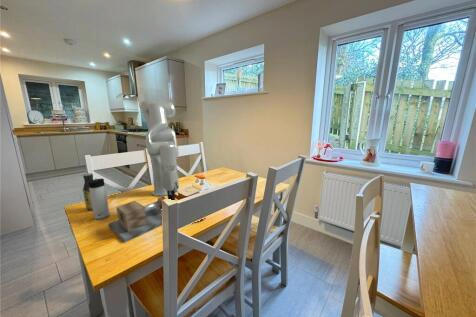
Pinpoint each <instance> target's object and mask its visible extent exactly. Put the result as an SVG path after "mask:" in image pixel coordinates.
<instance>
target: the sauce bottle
mask: <svg viewBox="0 0 476 317" xmlns="http://www.w3.org/2000/svg"><path fill="white" fill-rule="evenodd" d="M82 176H83V179H84V184H83V188H82V192H83V200H84V204H85V209H86V210H87V211H89V212H91V211H92V212H93V208H92V202H91V197H90V191H89V184H88V182H89V181H93V180H94V174H93V173H92V172H91V173H90V172H89V173H84V174H83V175H82Z"/></svg>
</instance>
